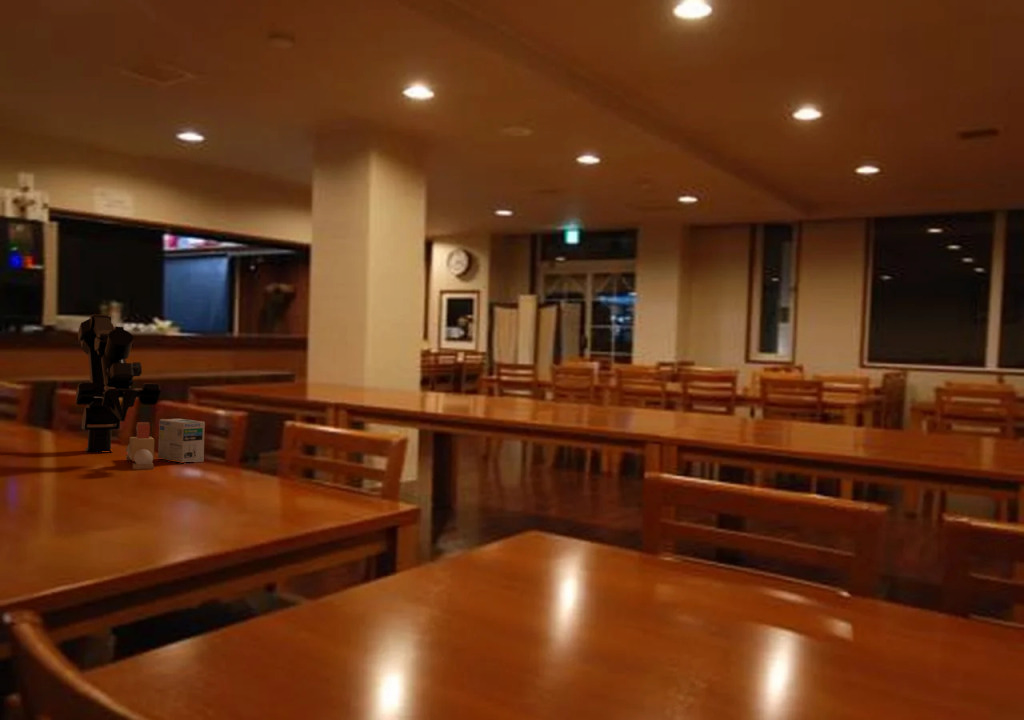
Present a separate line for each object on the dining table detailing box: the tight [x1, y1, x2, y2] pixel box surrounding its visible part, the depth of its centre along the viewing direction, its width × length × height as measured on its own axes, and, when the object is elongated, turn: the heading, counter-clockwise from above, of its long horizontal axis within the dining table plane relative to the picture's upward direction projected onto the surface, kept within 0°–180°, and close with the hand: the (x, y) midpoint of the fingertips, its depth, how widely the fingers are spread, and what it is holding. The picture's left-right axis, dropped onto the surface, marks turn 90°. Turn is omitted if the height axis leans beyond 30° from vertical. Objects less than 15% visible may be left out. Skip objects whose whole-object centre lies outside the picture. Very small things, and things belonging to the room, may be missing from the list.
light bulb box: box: [157, 418, 206, 463], centre depth 214 cm, size 11×7×11 cm, turn 58°
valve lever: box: [135, 421, 151, 439], centre depth 198 cm, size 3×13×3 cm, turn 26°
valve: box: [125, 436, 155, 470], centre depth 205 cm, size 17×5×8 cm, turn 32°
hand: (122, 420), depth 199 cm, fingers closed
